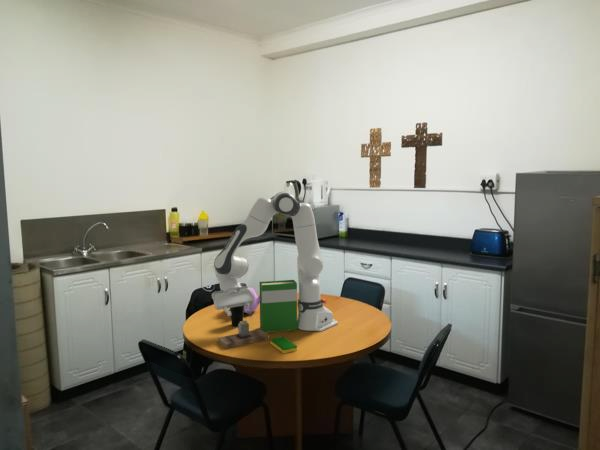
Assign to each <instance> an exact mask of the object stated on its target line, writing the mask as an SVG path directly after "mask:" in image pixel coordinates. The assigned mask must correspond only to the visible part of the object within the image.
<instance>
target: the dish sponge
mask: <svg viewBox="0 0 600 450" xmlns="http://www.w3.org/2000/svg"><path fill="white" fill-rule="evenodd" d="M269 343H270V345H272V346H273V347H274V348H276V349H277V350H279V352H281V353H282V354H287V353H292V352H296V351H298V345H296V343H294V342H292V341H291V340H289V339H288V338H287V337H285V336H279V337H273V338H269Z"/></svg>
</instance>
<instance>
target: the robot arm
mask: <svg viewBox="0 0 600 450" xmlns="http://www.w3.org/2000/svg"><path fill="white" fill-rule="evenodd" d="M276 214H280V215H282V216H283V215H284V216H287V217H289V216H290V217H291V219H292V224H293V225H292V226H293V232H294V239H295V244H296V249H297V252H298V253H297V254H298V255H297V262H296V263H297V264H296V265H297V267H296V268H297V279H298V298H297V330H301V331H306V332H307V331H313V332H315V331H316V332H323V331H324V330H325V331H326V330H327V329H329V328H332V327H334V326H336V325H338V320H336V319H334V314H333V312H332V310H330V309H329V308H327V307H325V306H324V304H326V303H327V302H328V301H327V299H325V298H321V280H320V274H321V273H322V271H323V268H324V263H323V258H322V253H321V248H320V244H319V240H318V233H317V227H316V219H315V216H314V211H313V209H312V206H311V204H310V203H307V202H299V201H298V200H297V199H296V198H295V196H294V195H293V194H292V193H290V192H288V191H280V192H278V193H276V194H275V195H273V196H272V197H270V198H269V197H258V199H256V201H255V203H254V204H253V206H252V207H251V209H250V211H249V213H248V215H247V217H246V218H245V220H244V221H243V222H242V223H241V224H239V225H237V226H236V228H235V230H234V231H233V232H232V234H231V235H230V237H229V239H227V240H228V241H227V242H226V243H225V245H224V247H223V249H222V250H221V251H220V252H219V254H217V256H216V257H215V259H214V262H213V267H214V272H215V278H216V280H217V282H218V283H219V289H220V290H217V291H213V292H212V293H211V298H212V300H213V305H214V309H215V310H217V311H219V310H223V312H225V314H226V315H227V317H231V315H232V313H231V311H230V310H229V309H230V308H232V307H238V306H243V305H245V306H246V307H247V308H246V309H245V311H246V312H245V313H246V314H247V313H249V311H250V310H249V305H250V304H253V302H254V300H255V298H254V295H253V293H252V291H251V290H250V289H249V288H248V287H249V284H248V283H245V282H240V281H238V279H240V278H242V277H243V276H244V275H246V274H247V272H248V271H249V262H248V260H247V259H246V258H245V257H242V256H238V255H235V254H236V253H237V251H238V248H239V247H240V245H241V244H242V243H243V242H244V241H245V240H248V239H251V238H256V237H260V236H261V235H264V233H265V232H266V231H267V229H268V227H269V224H271V223H270V222H271V220H272V218H273V217H274V216H275V215H276Z"/></svg>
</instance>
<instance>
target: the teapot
mask: <svg viewBox="0 0 600 450" xmlns="http://www.w3.org/2000/svg"><path fill="white" fill-rule="evenodd" d="M248 288H249V289H250V290H251V291H252V293H253V295H254V298H255V300H254V302H253V304H250V305H249V310H250V311H249V313H246V311H245V309H246V308H247V307H246V306H245V305H244V313H246V314H247V315H253V312H254V311H256V310H257V308H258V307H259V306H260V294H259V295H257V293H256V291H255V289H254V288H253V287H251V286H250V287H249V286H248Z"/></svg>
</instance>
